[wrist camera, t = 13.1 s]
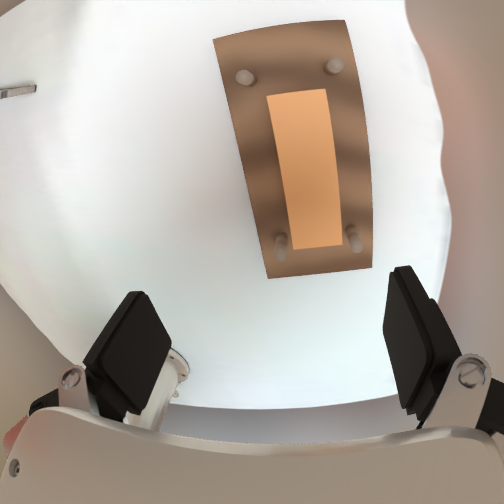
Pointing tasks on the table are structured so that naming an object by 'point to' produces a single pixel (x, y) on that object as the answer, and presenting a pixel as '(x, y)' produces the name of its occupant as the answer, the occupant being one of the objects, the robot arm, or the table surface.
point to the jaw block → (307, 167)
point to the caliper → (16, 91)
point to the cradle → (264, 146)
